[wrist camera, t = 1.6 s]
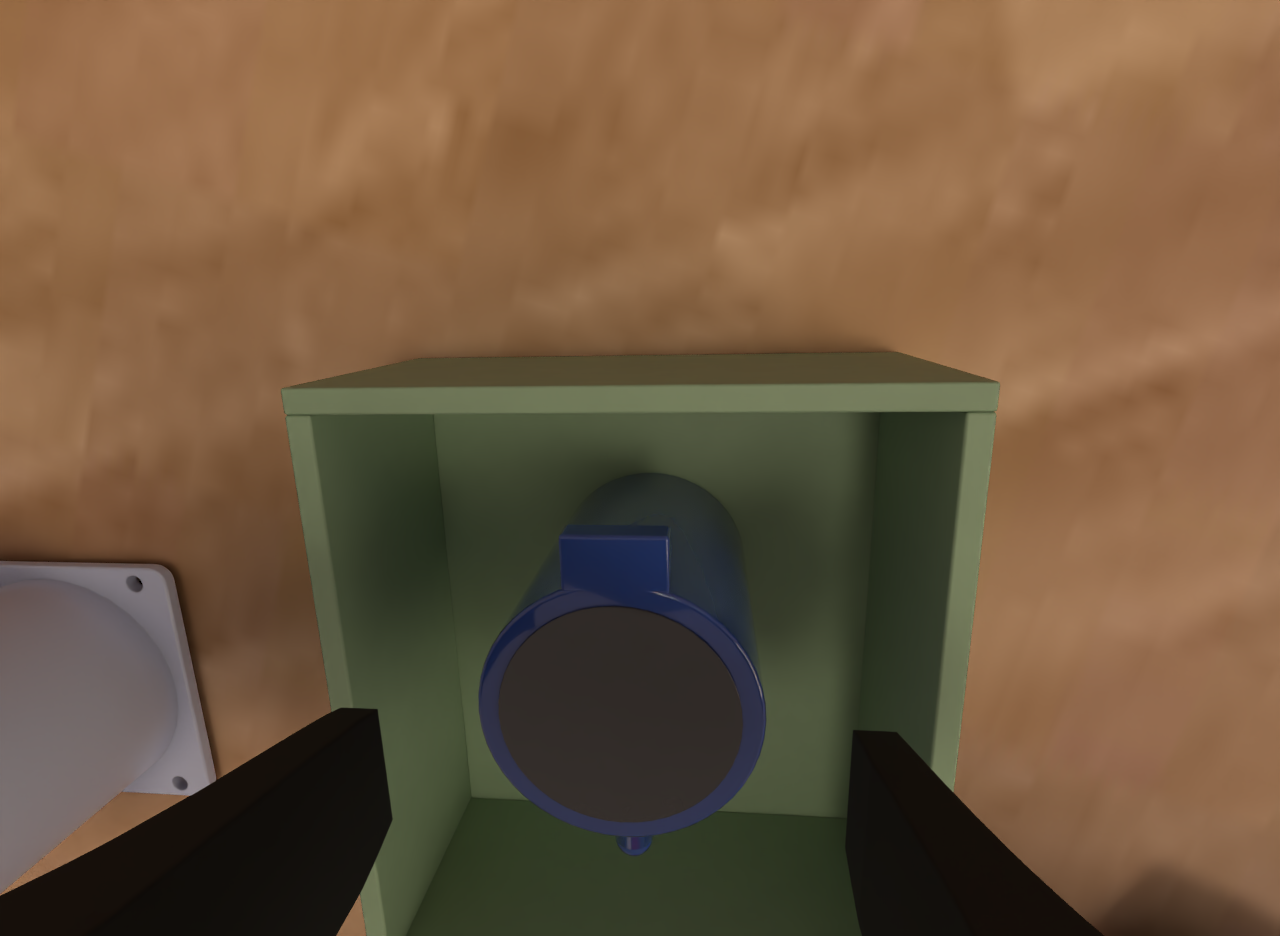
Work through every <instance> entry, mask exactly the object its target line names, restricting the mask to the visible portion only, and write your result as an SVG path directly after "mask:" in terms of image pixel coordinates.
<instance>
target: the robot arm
mask: <svg viewBox="0 0 1280 936" xmlns="http://www.w3.org/2000/svg"><path fill="white" fill-rule="evenodd" d="M137 577H138V578H139V579H140V580H141V582H142V584H143V585H142V584H141V583H139V581H138V579H137ZM120 792H137V793H155V794H172V795H189V797H187V798H185V799H184V800H182V801H180V802H178V803H177V804H175V805H173V806H171V807H170V808H168V809H166V810H164V811H162V812H161V813H159V814H157V815H155V816H154V817H152V818H150V819H148V820H147V821H145V822H143V823H141V824H139V825H138V826H136V827H134V828H132V829H131V830H129V831H127V832H125V833H124V834H122V835H120V836H118V837H116V838H115V839H113V840H111V841H109V842H107V843H105V844H103V845H101V846H100V847H98V848H96V849H94V850H92V851H90V852H88V853H86V854H84V855H82V856H80V857H78V858H76V859H74V860H72V861H71V862H69V863H67V864H65V865H63V866H61V867H59V868H56V869H54V870H52V871H50V872H48V873H46V874H44V875H42V876H40V877H38V878H36V879H34V880H32V881H30V882H28V883H26V884H24V885H22V886H20V887H18V888H16V889H14V890H11V891H9V892H7V893H5V894H3V895H1V896H0V936H336V935H337V933H338V931H339V929H340V928H341V926H342V924H343V922H344V921H345V919H346V917H347V916H348V914H349V912H350V910H351V909H352V907H353V905H354V903H355V901H356V900H357V898H358V896H359V894H360V893H361V891H362V889H363V887H364V885H365V883H366V881H367V878H368V876H369V874H370V872H371V870H372V867H373V865H374V863H375V861H376V858H377V856H378V854H379V851H380V849H381V847H382V844H383V842H384V839H385V837H386V835H387V832H388V830H389V827H390V825H391V823H392V820H393V817H392V810H391V802H390V795H389V788H388V780H387V773H386V766H385V759H384V751H383V744H382V737H381V729H380V722H379V715H378V709H365V708H343V707H341V708H339V709H337V710H335V711H333V712H331V713H329V714H327V715H325V716H323V717H321V718H320V719H318V720H316V721H314V722H313V723H311V724H309V725H307V726H306V727H304V728H302V729H301V730H299V731H297V732H296V733H294V734H292V735H291V736H289V737H287V738H286V739H284V740H282V741H281V742H279V743H277V744H276V745H274V746H272V747H271V748H269V749H268V750H266V751H264V752H263V753H261V754H259V755H258V756H256V757H254V758H253V759H251V760H249V761H248V762H246V763H244V764H243V765H241V766H239V767H238V768H236V769H234V770H233V771H231V772H229V773H228V774H226V775H224V776H223V777H221V778H220V779H218V780H216V773H215V769H214V764H213V759H212V755H211V750H210V745H209V740H208V736H207V731H206V726H205V722H204V717H203V712H202V707H201V703H200V698H199V693H198V689H197V684H196V679H195V674H194V670H193V665H192V660H191V656H190V651H189V646H188V641H187V637H186V632H185V627H184V623H183V618H182V613H181V608H180V604H179V599H178V594H177V590H176V585H175V580H174V577H173V575H172V573H171V572H170V571H169V570H168V569H167V568H165V567H164V566H162V565H158V564H130V563H79V562H29V561H0V894H1V893H2V892H3V891H4V890H5V889H7V888H8V887H9V886H10V885H11V884H13V883H14V882H15V881H16V880H17V879H18V878H20V877H21V876H22V875H23V874H24V873H26V872H27V871H28V870H29V869H30V868H31V867H33V866H34V865H35V864H36V863H37V862H39V861H40V860H41V859H42V858H43V857H44V856H46V855H47V854H48V853H49V852H50V851H52V850H53V849H54V848H55V847H56V846H57V845H59V844H60V843H61V842H62V841H63V840H65V839H66V838H67V837H68V836H69V835H70V834H72V833H73V832H74V831H75V830H76V829H78V828H79V827H80V826H81V825H82V824H83V823H85V822H86V821H87V820H88V819H89V818H91V817H92V816H93V815H94V814H95V813H96V812H98V811H99V810H100V809H101V808H102V807H104V806H105V805H106V804H107V803H108V802H109V801H111V800H112V799H113V798H114V797H115V796H117V795H118V794H119V793H120ZM845 850H846V856H847V862H848V868H849V874H850V880H851V885H852V891H853V896H854V902H855V907H856V913H857V918H858V924H859V927H860V931H861V934H862V936H1104V935H1103V934H1101V933H1100V932H1099V931H1098V930H1097V929H1096V928H1094V927H1093V926H1092V925H1091V924H1090V923H1089V922H1087V921H1086V920H1085V919H1084V918H1083V917H1082V916H1081V915H1079V914H1078V913H1077V912H1076V911H1075V910H1074V909H1073V908H1072V907H1070V906H1069V905H1068V904H1067V903H1066V902H1065V901H1064V900H1063V899H1062V898H1061V897H1060V896H1058V895H1057V894H1056V893H1055V892H1054V891H1053V890H1052V889H1051V888H1050V887H1049V886H1047V885H1046V884H1045V883H1044V882H1043V881H1042V880H1041V879H1040V878H1039V877H1038V876H1036V875H1035V874H1034V873H1033V872H1032V871H1031V870H1030V869H1029V868H1028V867H1027V866H1026V865H1025V864H1024V863H1023V862H1022V861H1021V860H1019V859H1018V858H1017V857H1016V856H1015V855H1014V854H1013V853H1012V852H1011V851H1010V850H1009V849H1008V848H1007V847H1006V846H1005V845H1004V844H1003V843H1002V842H1001V841H1000V840H999V839H998V838H997V837H996V836H995V835H994V834H993V833H992V832H991V831H990V830H989V829H988V828H987V827H986V826H985V825H984V824H983V823H982V822H981V821H980V820H979V819H978V818H977V817H976V816H975V815H974V814H973V813H972V812H971V811H970V810H969V808H968V807H967V806H966V805H965V804H964V803H963V802H962V801H961V800H960V799H959V798H958V797H957V796H956V795H955V794H954V793H953V792H952V791H951V789H950V788H949V787H948V786H947V785H946V784H945V783H944V782H943V781H942V780H941V779H940V778H939V777H938V776H937V775H936V773H935V772H934V771H933V770H932V769H931V768H930V767H929V766H928V765H927V764H926V763H925V762H924V760H923V759H922V758H921V757H920V756H919V755H918V754H917V753H916V752H915V751H914V750H913V749H912V748H911V746H910V745H909V744H908V743H907V742H906V741H905V740H904V739H903V738H902V737H901V736H900V735H899V734H898V733H897V732H889V731H867V730H853V736H852V751H851V766H850V781H849V796H848V811H847V826H846V840H845Z"/></svg>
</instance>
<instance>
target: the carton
mask: <svg viewBox="0 0 1280 936" xmlns="http://www.w3.org/2000/svg"><path fill="white" fill-rule="evenodd" d="M999 390H1000V383H999V382H997V381H994V380H990V379H987V378H984V377H980V376H977V375H974V374H970V373H967V372H964V371H960V370H957V369H953V368H950V367H947V366H943V365H940V364H937V363H933V362H930V361H927V360H923V359H920V358H916V357H913V356H910V355H906V354H902V353H899V352H854V353H780V354H705V355H630V356H555V357H480V358H418V359H414V360H409V361H404V362H400V363H395V364H391V365H386V366H381V367H377V368H372V369H368V370H363V371H359V372H354V373H349V374H345V375H340V376H336V377H331V378H326V379H322V380H317V381H313V382H308V383H303V384H299V385H294V386H290V387H285V388H282V389H281V395H282V401H283V407H284V413H285V414H287V416H286V418H285V419H286V425H287V432H288V438H289V444H290V451H291V457H292V463H293V470H294V476H295V483H296V489H297V495H298V502H299V508H300V514H301V521H302V527H303V534H304V540H305V546H306V553H307V559H308V565H309V572H310V578H311V585H312V591H313V597H314V604H315V610H316V616H317V623H318V629H319V636H320V642H321V648H322V655H323V661H324V667H325V674H326V680H327V687H328V693H329V699H330V706H331V712H333V711H335V710H337V709H339V708H341V707H343V708H365V709H378V715H379V722H380V729H381V737H382V744H383V751H384V759H385V766H386V773H387V780H388V788H389V795H390V802H391V810H392V817H393V820H392V823H391V825H390V827H389V830H388V832H387V835H386V837H385V839H384V842H383V844H382V847H381V849H380V851H379V854H378V856H377V858H376V861H375V863H374V865H373V867H372V870H371V872H370V874H369V876H368V878H367V881H366V883H365V885H364V887H363V889H362V891H361V893H360V897H361V903H362V910H363V916H364V922H365V929H366V935H367V936H862V934H861V931H860V927H859V924H858V918H857V913H856V907H855V902H854V896H853V891H852V885H851V880H850V874H849V868H848V862H847V856H846V850H845V840H846V826H847V811H848V796H849V781H850V766H851V751H852V736H853V730H867V731H889V732H897V733H898V734H899V735H900V736H901V737H902V738H903V739H904V740H905V741H906V742H907V743H908V744H909V745H910V746H911V748H912V749H913V750H914V751H915V752H916V753H917V754H918V755H919V756H920V757H921V758H922V759H923V760H924V762H925V763H926V764H927V765H928V766H929V767H930V768H931V769H932V770H933V771H934V772H935V773H936V775H937V776H938V777H939V778H940V779H941V780H942V781H943V782H944V783H945V784H946V785H947V786H948V787H949V788H950V789H951V791H952V792H954V783H955V775H956V766H957V757H958V748H959V739H960V731H961V722H962V713H963V704H964V695H965V687H966V678H967V669H968V660H969V652H970V643H971V634H972V625H973V616H974V608H975V599H976V590H977V581H978V572H979V564H980V555H981V546H982V537H983V528H984V520H985V511H986V502H987V493H988V484H989V476H990V467H991V458H992V449H993V440H994V432H995V423H996V413H995V412H994V411H997V407H998V398H999ZM637 473H661V474H667V475H672V476H676V477H679V478H682V479H685V480H688V481H690V482H692V483H694V484H696V485H698V486H700V487H701V488H703V489H704V490H706V491H707V492H709V493H710V494H711V495H712V496H714V497H715V498H716V499H717V500H718V501H719V502H720V503H721V504H722V505H723V506H724V507H725V509H726V510H727V511H728V513H729V514H730V516H731V517H732V519H733V520H734V522H735V524H736V526H737V528H738V530H739V533H740V536H741V539H742V543H743V548H744V554H745V561H746V568H747V575H748V582H749V589H750V596H751V603H752V610H753V617H754V624H755V631H756V638H757V645H758V652H759V659H760V667H761V674H762V681H763V688H764V695H765V702H766V719H767V722H766V731H765V739H764V743H763V747H762V750H761V754H760V756H759V759H758V761H757V763H756V766H755V768H754V770H753V771H752V773H751V775H750V776H749V778H748V779H747V781H746V783H745V784H744V786H743V787H742V788H741V789H740V790H739V791H738V793H737V794H736V795H735V796H734V797H733V798H732V799H731V800H730V801H729V802H728V803H727V804H725V805H724V806H723V807H722V808H721V809H719V810H718V811H716V812H715V813H714V814H712V815H711V816H709V817H708V818H706V819H704V820H702V821H700V822H698V823H696V824H694V825H692V826H689V827H686V828H683V829H680V830H678V831H674V832H670V833H665V834H661V835H655V836H653V841H652V844H651V846H650V848H649V849H648V850H647V851H646V852H645V853H644V854H642V855H640V856H629V855H626V854H625V853H623V852H622V851H621V850H620V849H619V847H618V845H617V843H616V839H615V836H611V835H604V834H599V833H595V832H590V831H587V830H584V829H581V828H578V827H575V826H572V825H570V824H567V823H565V822H563V821H561V820H559V819H557V818H555V817H553V816H551V815H550V814H548V813H546V812H545V811H543V810H541V809H540V808H538V807H537V806H536V805H534V804H533V803H532V802H531V801H529V800H528V799H527V798H525V797H524V796H523V795H522V794H521V793H520V792H519V791H518V790H517V789H516V788H515V787H514V786H513V785H512V784H511V782H510V781H509V780H508V779H507V777H506V776H505V775H504V774H503V773H502V771H501V769H500V768H499V766H498V765H497V763H496V761H495V760H494V758H493V756H492V754H491V752H490V750H489V748H488V745H487V743H486V740H485V737H484V734H483V731H482V727H481V721H480V715H479V705H478V691H479V683H480V676H481V672H482V669H483V665H484V662H485V659H486V657H487V655H488V652H489V650H490V648H491V646H492V644H493V643H494V641H495V639H496V638H497V636H498V634H499V633H500V631H501V630H502V628H503V626H504V625H505V623H506V622H507V620H508V618H509V617H510V615H511V613H512V612H513V610H514V609H515V607H516V605H517V604H518V602H519V600H520V599H521V597H522V596H523V594H524V592H525V591H526V589H527V587H528V586H529V584H530V583H531V581H532V579H533V578H534V576H535V575H536V573H537V571H538V570H539V568H540V566H541V565H542V563H543V562H544V560H545V558H546V557H547V555H548V553H549V552H550V550H551V549H552V547H553V545H554V544H555V542H556V540H557V539H558V537H559V535H560V533H561V531H562V530H563V528H564V527H565V526H566V524H567V523H568V521H569V519H570V518H571V516H572V515H573V513H574V512H575V510H576V509H577V507H578V506H579V505H580V504H581V503H582V501H583V500H584V499H585V498H586V497H587V496H589V495H590V494H591V493H592V492H593V491H595V490H596V489H598V488H599V487H601V486H602V485H604V484H606V483H608V482H610V481H612V480H614V479H617V478H620V477H623V476H627V475H632V474H637Z"/></svg>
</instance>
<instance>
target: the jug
mask: <svg viewBox="0 0 1280 936" xmlns="http://www.w3.org/2000/svg"><path fill="white" fill-rule="evenodd" d="M478 705H479V715H480V721H481V727H482V731H483V734H484V737H485V740H486V743H487V745H488V748H489V750H490V752H491V754H492V756H493V758H494V760H495V761H496V763H497V765H498V766H499V768H500V769H501V771H502V773H503V774H504V775H505V776H506V777H507V779H508V780H509V781H510V782H511V784H512V785H513V786H514V787H515V788H516V789H517V790H518V791H519V792H520V793H521V794H522V795H523V796H524V797H525V798H527V799H528V800H529V801H531V802H532V803H533V804H534V805H536V806H537V807H538V808H540V809H541V810H543V811H545V812H546V813H548V814H550V815H551V816H553V817H555V818H557V819H559V820H561V821H563V822H565V823H567V824H570V825H572V826H575V827H578V828H581V829H584V830H587V831H590V832H595V833H599V834H604V835H611V836H615V839H616V843H617V845H618V847H619V849H620V850H621V851H622V852H623V853H625V854H626V855H629V856H640V855H642V854H644V853H645V852H646V851H647V850H648V849H649V848H650V846H651V844H652V841H653V836H655V835H661V834H665V833H670V832H674V831H678V830H680V829H683V828H686V827H689V826H692V825H694V824H696V823H698V822H700V821H702V820H704V819H706V818H708V817H709V816H711V815H712V814H714V813H715V812H716V811H718V810H719V809H721V808H722V807H723V806H724V805H725V804H727V803H728V802H729V801H730V800H731V799H732V798H733V797H734V796H735V795H736V794H737V793H738V791H739V790H740V789H741V788H742V787H743V786H744V784H745V783H746V781H747V779H748V778H749V776H750V775H751V773H752V771H753V770H754V768H755V766H756V763H757V761H758V759H759V756H760V754H761V750H762V747H763V743H764V739H765V731H766V722H767V719H766V702H765V695H764V688H763V681H762V674H761V667H760V659H759V652H758V645H757V638H756V631H755V624H754V617H753V610H752V603H751V596H750V589H749V582H748V575H747V568H746V561H745V554H744V548H743V543H742V539H741V536H740V533H739V530H738V528H737V526H736V524H735V522H734V520H733V519H732V517H731V516H730V514H729V513H728V511H727V510H726V509H725V507H724V506H723V505H722V504H721V503H720V502H719V501H718V500H717V499H716V498H715V497H714V496H712V495H711V494H710V493H709V492H707V491H706V490H704V489H703V488H701V487H700V486H698V485H696V484H694V483H692V482H690V481H688V480H685V479H682V478H679V477H676V476H672V475H667V474H661V473H637V474H632V475H627V476H623V477H620V478H617V479H614V480H612V481H610V482H608V483H606V484H604V485H602V486H601V487H599V488H598V489H596V490H595V491H593V492H592V493H591V494H590V495H589V496H587V497H586V498H585V499H584V500H583V501H582V503H581V504H580V505H579V506H578V507H577V509H576V510H575V512H574V513H573V515H572V516H571V518H570V519H569V521H568V523H567V524H566V526H565V527H564V528H563V530H562V531H561V533H560V535H559V537H558V539H557V540H556V542H555V544H554V545H553V547H552V549H551V550H550V552H549V553H548V555H547V557H546V558H545V560H544V562H543V563H542V565H541V566H540V568H539V570H538V571H537V573H536V575H535V576H534V578H533V579H532V581H531V583H530V584H529V586H528V587H527V589H526V591H525V592H524V594H523V596H522V597H521V599H520V600H519V602H518V604H517V605H516V607H515V609H514V610H513V612H512V613H511V615H510V617H509V618H508V620H507V622H506V623H505V625H504V626H503V628H502V630H501V631H500V633H499V634H498V636H497V638H496V639H495V641H494V643H493V644H492V646H491V648H490V650H489V652H488V655H487V657H486V659H485V662H484V665H483V669H482V672H481V676H480V683H479V691H478Z"/></svg>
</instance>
